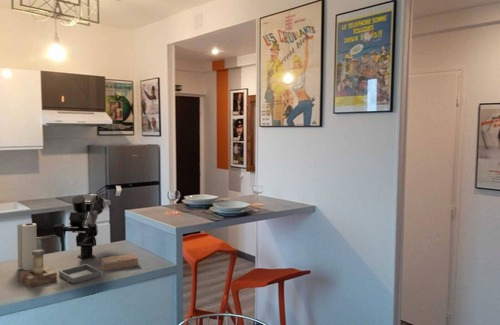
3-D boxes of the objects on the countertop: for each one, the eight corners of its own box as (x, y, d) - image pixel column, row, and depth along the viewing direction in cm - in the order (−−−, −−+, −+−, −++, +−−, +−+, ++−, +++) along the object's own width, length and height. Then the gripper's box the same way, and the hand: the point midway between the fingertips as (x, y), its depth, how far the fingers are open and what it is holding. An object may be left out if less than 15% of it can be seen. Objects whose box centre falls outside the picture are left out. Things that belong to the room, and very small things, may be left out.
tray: (59, 276, 183) (59, 270, 183) (86, 269, 193) (86, 263, 193) (73, 284, 174) (73, 278, 174) (101, 276, 184) (101, 271, 184)
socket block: (19, 280, 177) (19, 272, 176) (45, 273, 185) (45, 266, 185) (30, 287, 170) (30, 279, 169) (56, 280, 178) (56, 272, 178)
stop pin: (30, 280, 177) (29, 251, 176) (41, 277, 181) (41, 249, 180) (34, 283, 174) (34, 253, 173) (46, 280, 178) (46, 251, 176)
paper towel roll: (39, 267, 192) (39, 223, 191) (28, 271, 187) (27, 226, 185) (29, 265, 195) (29, 221, 194) (17, 268, 190) (17, 224, 188)
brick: (103, 271, 191) (103, 261, 191) (100, 265, 199) (100, 256, 198) (138, 266, 199) (138, 257, 199) (134, 261, 207) (134, 252, 206)
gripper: (56, 206, 190) (46, 229, 177) (98, 206, 193) (91, 229, 180) (60, 223, 196) (51, 247, 184) (100, 224, 199) (93, 247, 186)
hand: (71, 242), depth 183 cm, fingers open, 9 cm apart
